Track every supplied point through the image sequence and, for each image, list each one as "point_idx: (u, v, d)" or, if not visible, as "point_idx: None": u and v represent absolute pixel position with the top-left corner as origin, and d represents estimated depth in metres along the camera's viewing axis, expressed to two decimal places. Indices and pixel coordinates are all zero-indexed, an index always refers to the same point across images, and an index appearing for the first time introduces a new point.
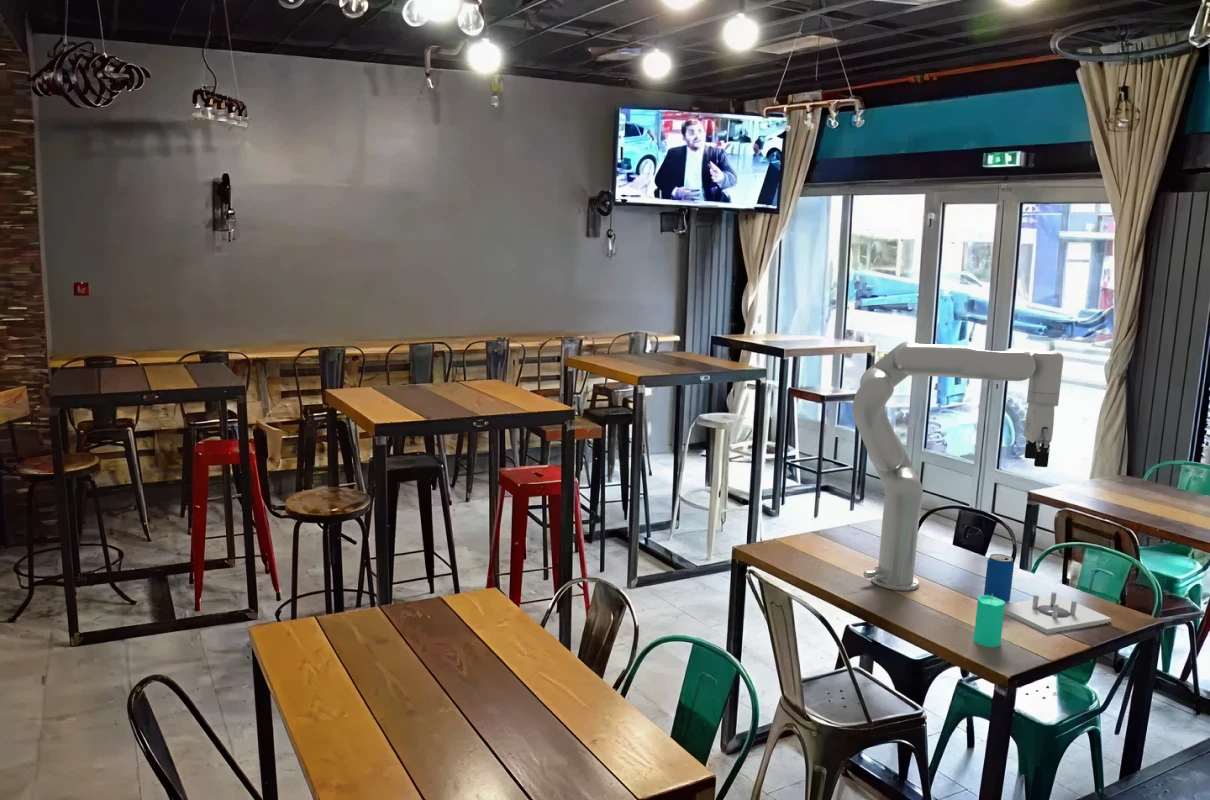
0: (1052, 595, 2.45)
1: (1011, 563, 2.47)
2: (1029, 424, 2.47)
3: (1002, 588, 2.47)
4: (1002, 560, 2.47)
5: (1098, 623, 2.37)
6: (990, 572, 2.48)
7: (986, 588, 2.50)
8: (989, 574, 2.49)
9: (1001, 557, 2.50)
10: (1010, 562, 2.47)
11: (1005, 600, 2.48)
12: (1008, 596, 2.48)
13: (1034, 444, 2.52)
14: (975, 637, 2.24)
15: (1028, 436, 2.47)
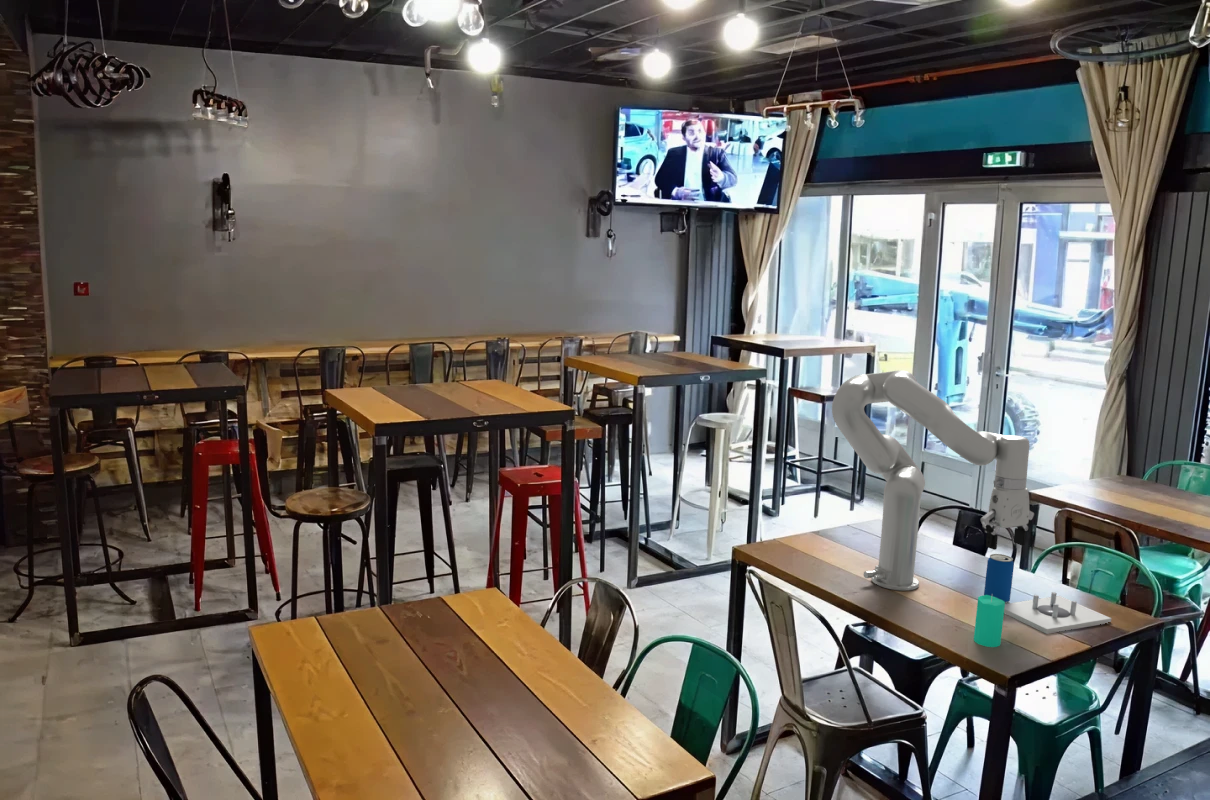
0: (1052, 595, 2.45)
1: (1011, 563, 2.47)
2: (1019, 511, 2.44)
3: (1002, 588, 2.47)
4: (1002, 560, 2.47)
5: (1098, 623, 2.37)
6: (990, 572, 2.48)
7: (986, 588, 2.50)
8: (989, 574, 2.49)
9: (1001, 557, 2.50)
10: (1010, 562, 2.47)
11: (1005, 600, 2.48)
12: (1008, 596, 2.48)
13: None
14: (975, 637, 2.24)
15: (1019, 522, 2.45)
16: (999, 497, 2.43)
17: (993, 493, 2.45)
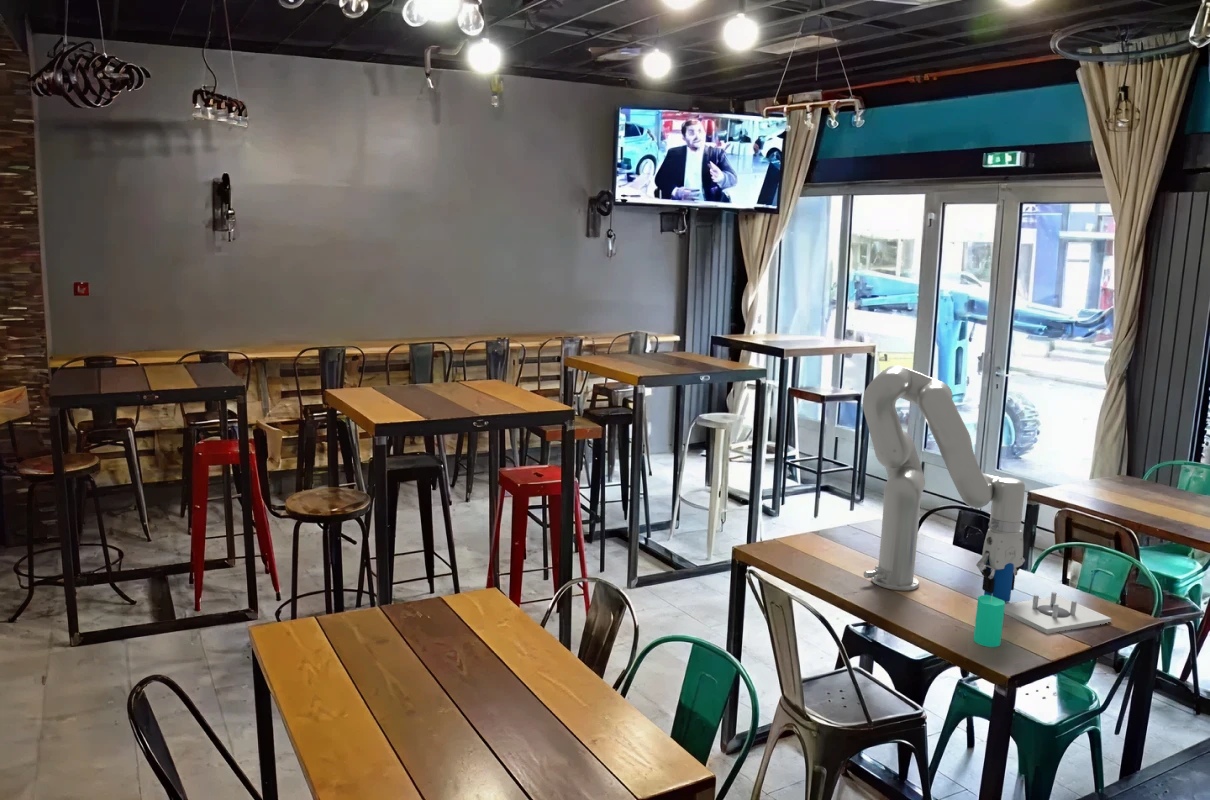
0: (1052, 595, 2.45)
1: (1011, 563, 2.47)
2: (1013, 553, 2.46)
3: (1002, 588, 2.47)
4: None
5: (1098, 623, 2.37)
6: None
7: None
8: None
9: None
10: None
11: (1005, 600, 2.48)
12: (1008, 596, 2.48)
13: None
14: (975, 637, 2.24)
15: None
16: (993, 539, 2.45)
17: (987, 535, 2.47)
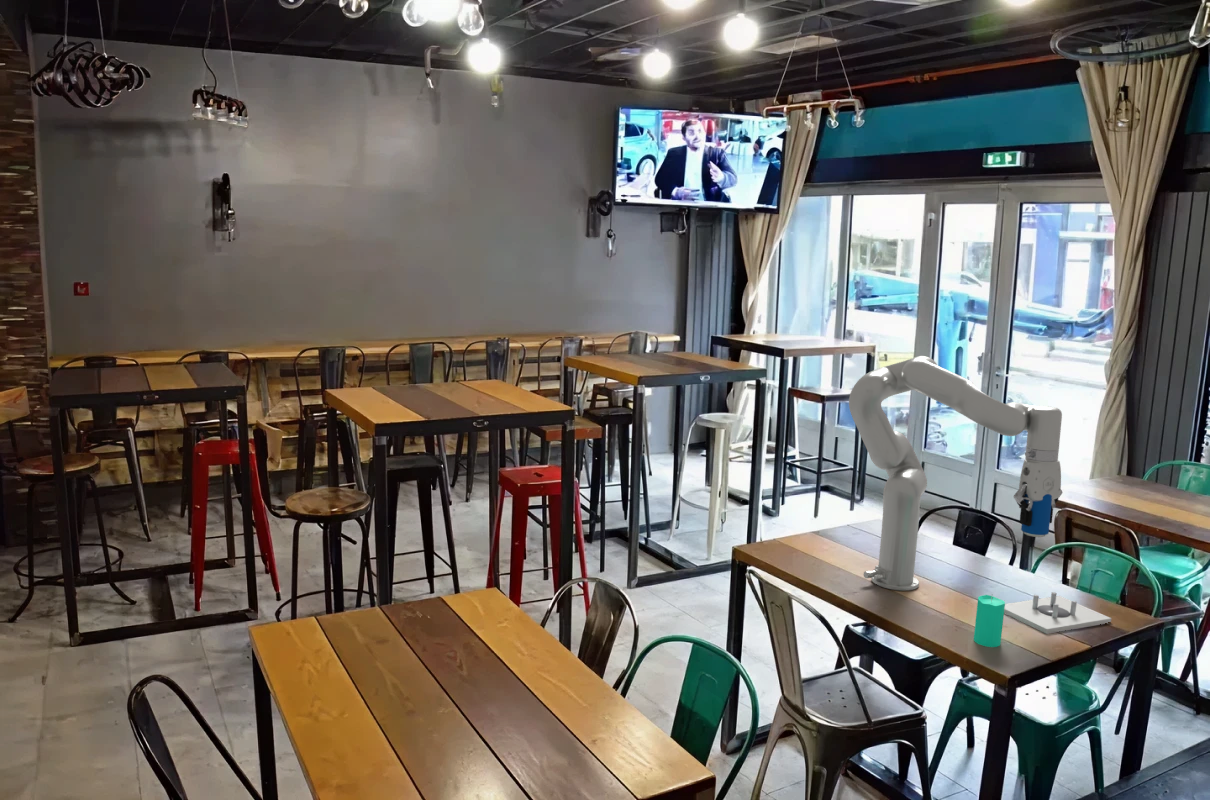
0: (1052, 595, 2.45)
1: (1049, 494, 2.39)
2: (1051, 483, 2.38)
3: (1041, 520, 2.39)
4: None
5: (1098, 623, 2.37)
6: None
7: None
8: None
9: None
10: None
11: (1044, 533, 2.40)
12: (1047, 529, 2.40)
13: None
14: (975, 637, 2.24)
15: None
16: (1031, 469, 2.37)
17: (1024, 465, 2.39)
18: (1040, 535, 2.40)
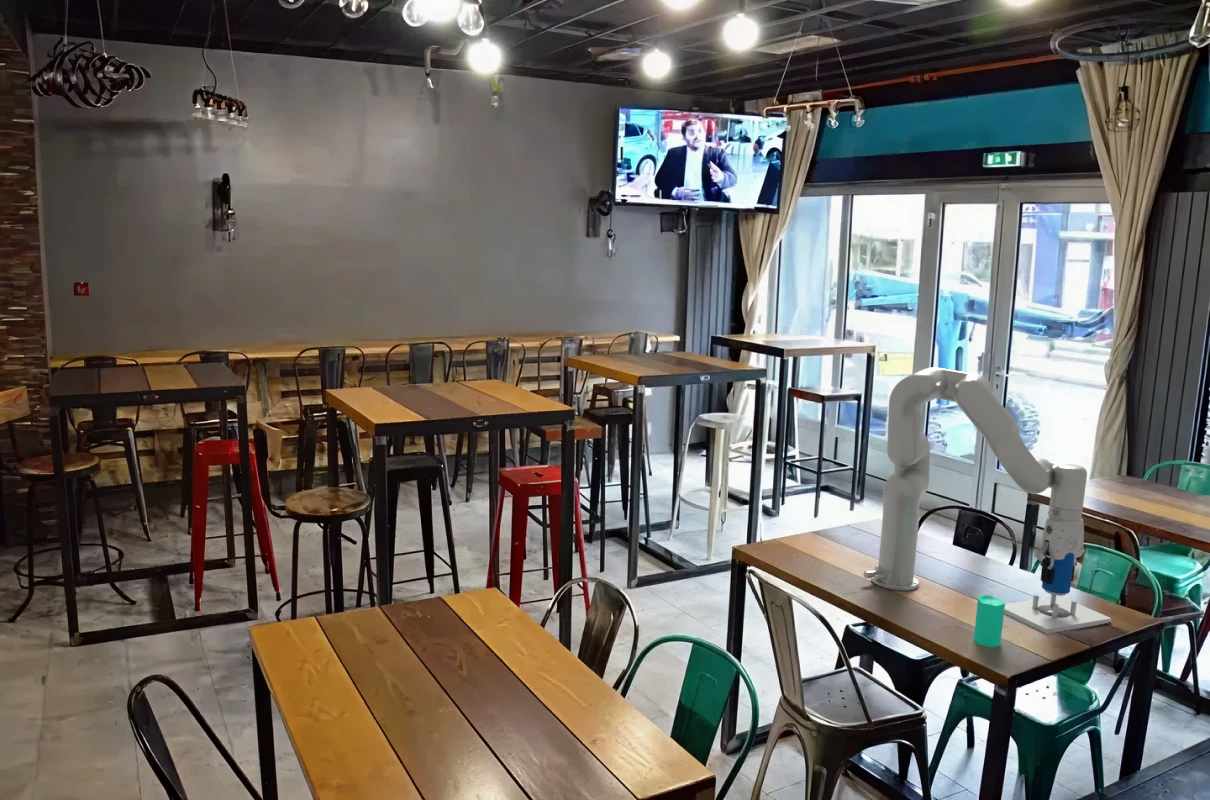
0: (1052, 595, 2.45)
1: (1072, 553, 2.36)
2: (1073, 542, 2.36)
3: (1062, 579, 2.37)
4: None
5: (1098, 623, 2.37)
6: None
7: None
8: None
9: None
10: None
11: (1065, 591, 2.37)
12: (1068, 587, 2.38)
13: None
14: (975, 637, 2.24)
15: None
16: (1054, 528, 2.35)
17: (1047, 523, 2.37)
18: (1061, 594, 2.38)
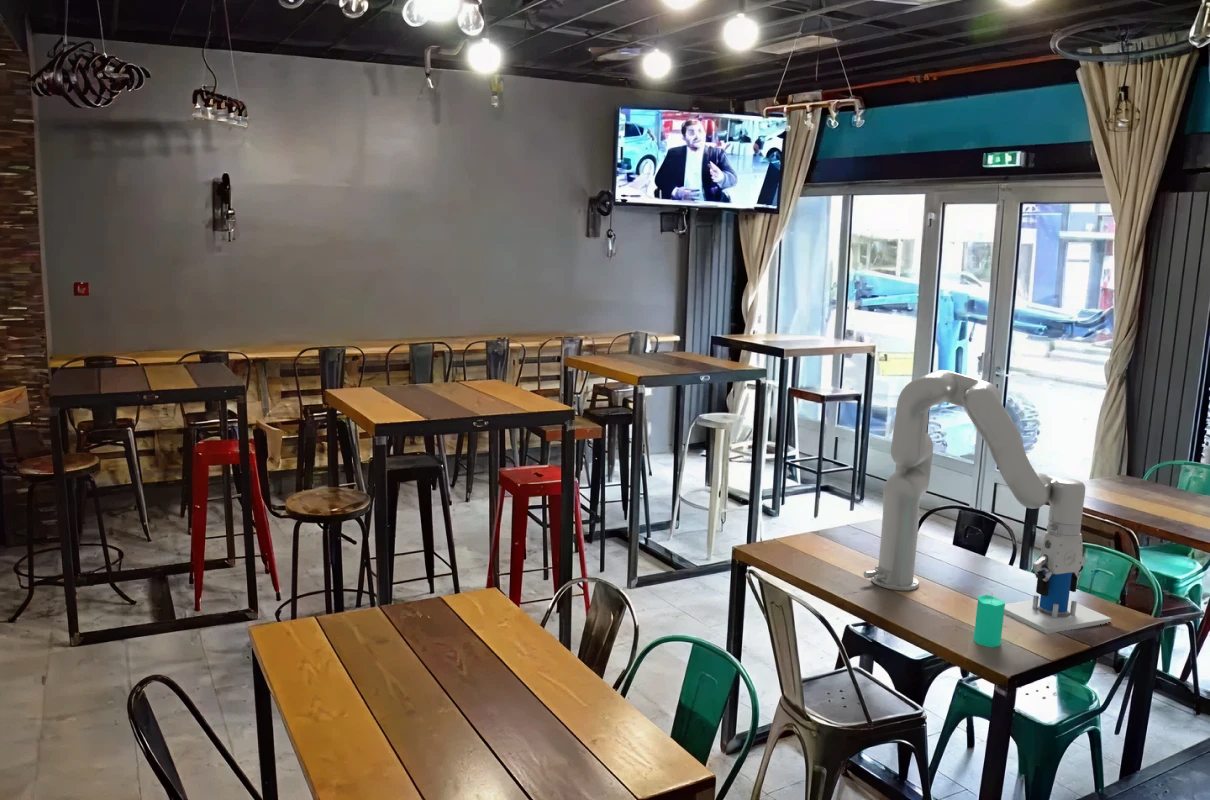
0: None
1: None
2: (1072, 557, 2.37)
3: (1060, 598, 2.37)
4: None
5: (1098, 623, 2.37)
6: None
7: (1042, 598, 2.40)
8: None
9: None
10: None
11: (1063, 610, 2.38)
12: (1066, 606, 2.38)
13: None
14: (975, 637, 2.24)
15: (1071, 569, 2.37)
16: (1052, 543, 2.35)
17: (1046, 538, 2.37)
18: (1059, 613, 2.38)
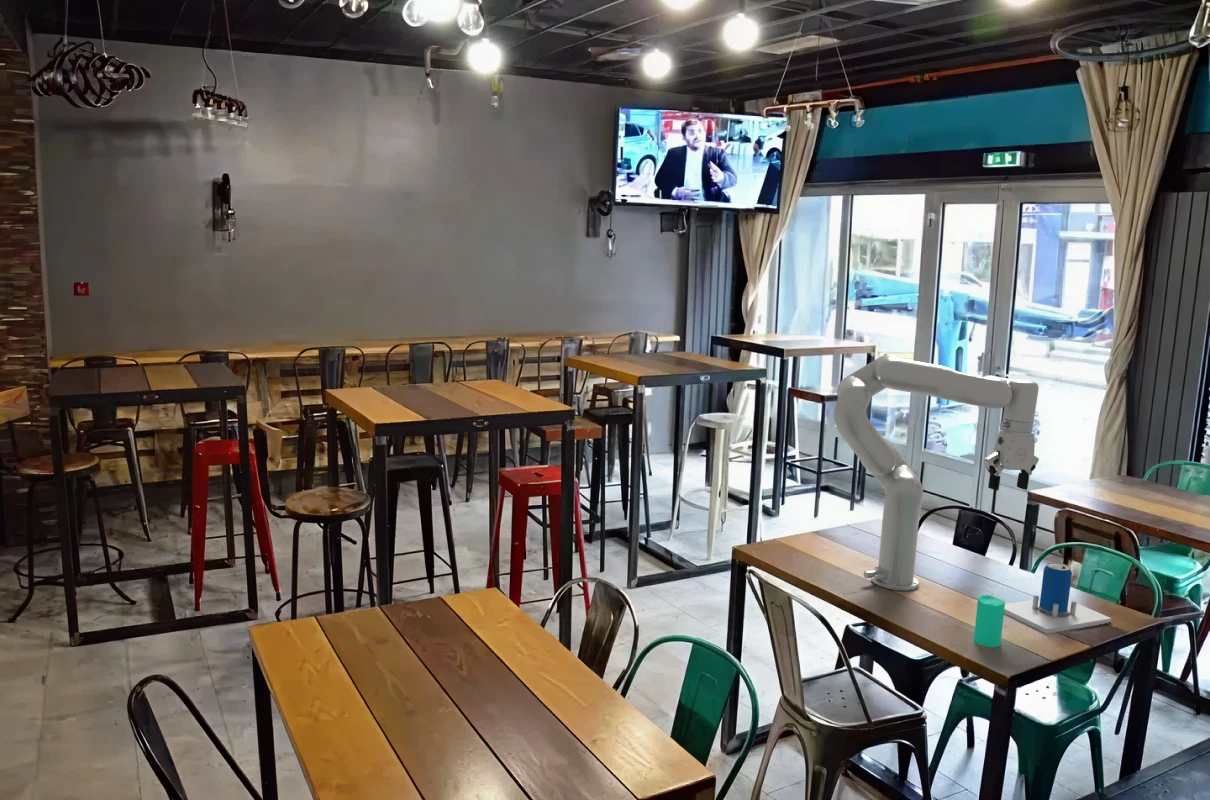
0: None
1: (1069, 572, 2.37)
2: (1023, 454, 2.48)
3: (1060, 598, 2.37)
4: (1060, 569, 2.38)
5: (1098, 623, 2.37)
6: (1047, 581, 2.39)
7: (1042, 598, 2.40)
8: (1046, 583, 2.39)
9: (1058, 566, 2.40)
10: (1068, 571, 2.37)
11: (1063, 610, 2.38)
12: (1066, 606, 2.38)
13: None
14: (975, 637, 2.24)
15: (1023, 465, 2.49)
16: (1004, 439, 2.47)
17: (999, 435, 2.49)
18: (1059, 613, 2.38)
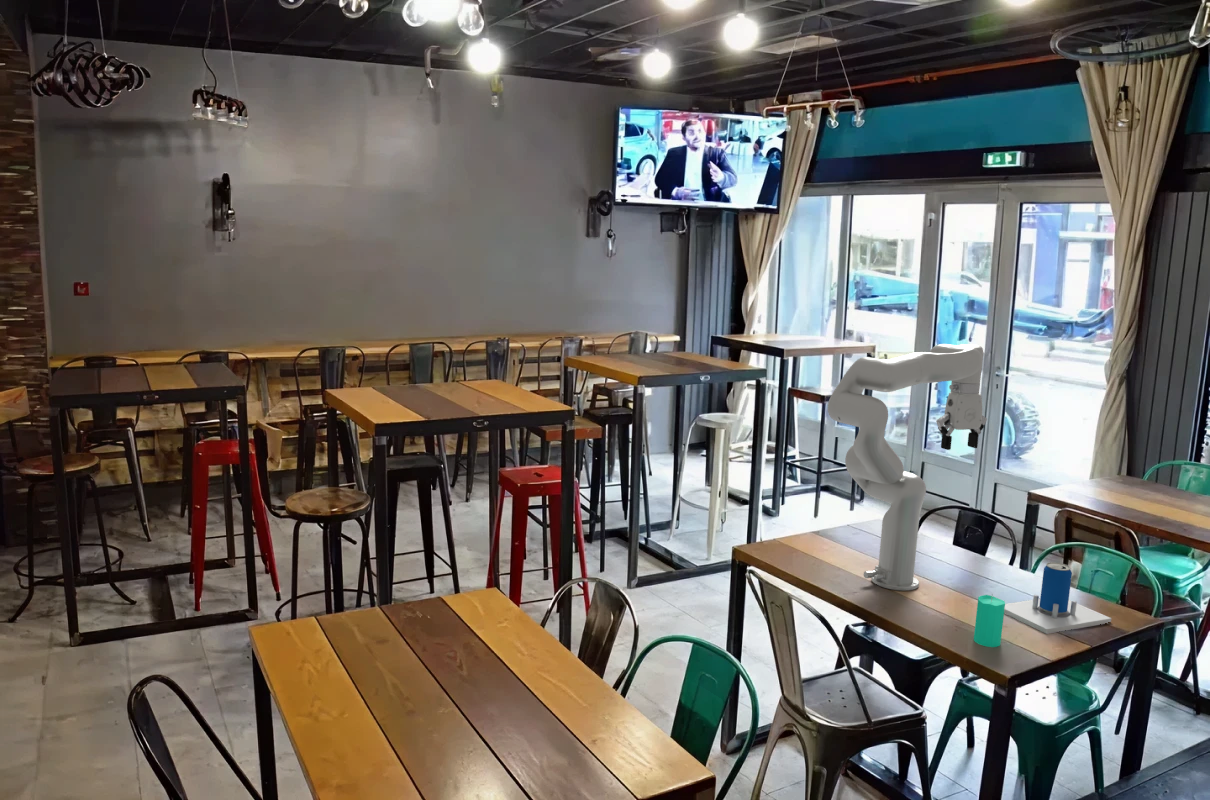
0: None
1: (1069, 572, 2.37)
2: (972, 414, 2.63)
3: (1060, 598, 2.37)
4: (1060, 569, 2.38)
5: (1098, 623, 2.37)
6: (1047, 581, 2.39)
7: (1042, 598, 2.40)
8: (1046, 583, 2.39)
9: (1058, 566, 2.40)
10: (1068, 571, 2.37)
11: (1063, 610, 2.38)
12: (1066, 606, 2.38)
13: None
14: (975, 637, 2.24)
15: (972, 425, 2.64)
16: (954, 400, 2.62)
17: (949, 397, 2.64)
18: (1059, 613, 2.38)
